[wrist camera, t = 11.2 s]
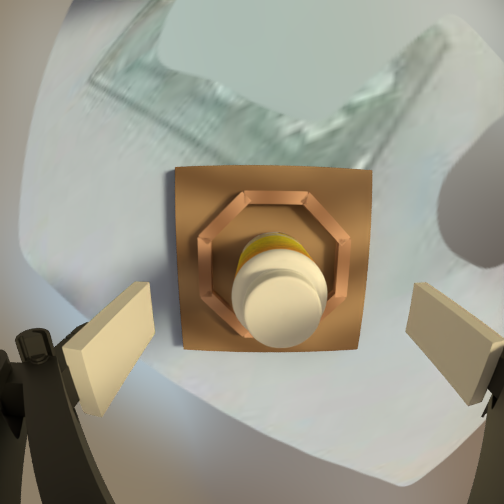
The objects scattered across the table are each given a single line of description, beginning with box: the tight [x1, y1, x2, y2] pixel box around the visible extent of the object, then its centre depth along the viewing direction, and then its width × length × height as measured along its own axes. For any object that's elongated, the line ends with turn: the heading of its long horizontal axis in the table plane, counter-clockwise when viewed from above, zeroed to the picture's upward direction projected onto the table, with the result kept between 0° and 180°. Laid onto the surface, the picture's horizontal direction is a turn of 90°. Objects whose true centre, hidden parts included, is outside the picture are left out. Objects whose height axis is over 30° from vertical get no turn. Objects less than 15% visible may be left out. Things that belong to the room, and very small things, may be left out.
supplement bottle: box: [232, 232, 327, 348], centre depth 20 cm, size 6×6×10 cm
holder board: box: [175, 165, 372, 352], centre depth 25 cm, size 16×16×2 cm
